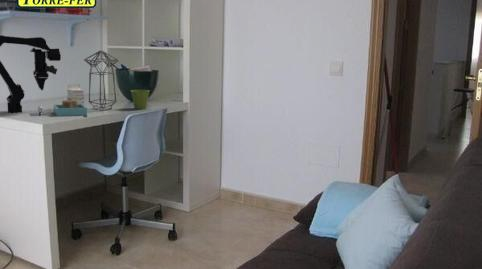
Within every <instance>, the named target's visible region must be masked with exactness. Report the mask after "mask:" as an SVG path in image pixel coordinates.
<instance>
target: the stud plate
mask: <svg viewBox="0 0 482 269" xmlns="http://www.w3.org/2000/svg"><path fill="white" fill-rule="evenodd" d="M37 109H38V112H37V113H36V112H35V113H34V112H33V113H32V112H31V113H29V115H30V117H51V116H52V114H51V113H50V112H43V106H40V105H39V106H38V107H37Z"/></svg>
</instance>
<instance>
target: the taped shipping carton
mask: <svg viewBox="0 0 482 269" xmlns="http://www.w3.org/2000/svg"><path fill="white" fill-rule="evenodd" d="M61 103H62V104H61V105H62V108H77V101H75V100H68V99H66V100H62V101H61Z"/></svg>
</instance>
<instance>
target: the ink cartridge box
mask: <svg viewBox="0 0 482 269" xmlns="http://www.w3.org/2000/svg"><path fill="white" fill-rule="evenodd" d="M67 100H75V101H77V104H82V105H84V106H85V89H82V88H81V84H80V83H71V84H70V83H68V84H67Z"/></svg>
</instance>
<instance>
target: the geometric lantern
mask: <svg viewBox="0 0 482 269" xmlns="http://www.w3.org/2000/svg"><path fill="white" fill-rule="evenodd" d="M93 56H94V57H93ZM92 57H93V58H92ZM89 58H92V59H89ZM111 58H113V59H111ZM83 61H84V62H86V63H87V64H88V65H89V66H90V67H89V68H90V70H89V74H88V75H89V81H88V84H89V85H88V86H89V88H88V103H89V104H90V105H91V106H92V107H93V108H92V109H93V110H95V111H96V110H98V111H102V109H105V111H108V110H109V111H110V110H113V109H112V108H113V105H115V104H116V103H117V96H116V93H117V92H116V84H115V83H116V82H115V81H116V80H115V70H114V65H116V63H118V62H119V59H118V58H116V57H115V56H112V55H110V54H109V53H107V52H105V50H98V51H96V52H95V53H92V55H90V56H88V57H85V58H84V59H83ZM101 62H102V63H104V64H105V68H104V69H103V71H102V70H101V68H99V66H98V65H99V64H100V63H101ZM110 63H111V64H110ZM93 68H95V69H96V71H93V72H92V70H93ZM109 68H111V71H112V72H110V71H109V72H108V71H107V70H108V69H109ZM98 69H99V70H98ZM95 74H96V75H99V98H98V99H94V100H91V85H92V84H91V82H92V81H91V80H92V75H95ZM107 74H110V75H112V79H113V80H112V81H113V82H112V83H113V92H114V99H113V100H112V99H107V98H106V87H105V76H106V75H107ZM102 80H103V81H102ZM102 82H103V83H102ZM102 84H103V99H102ZM97 101H99V102H97ZM107 101H108V102H107ZM94 104H95V105H94Z"/></svg>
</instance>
